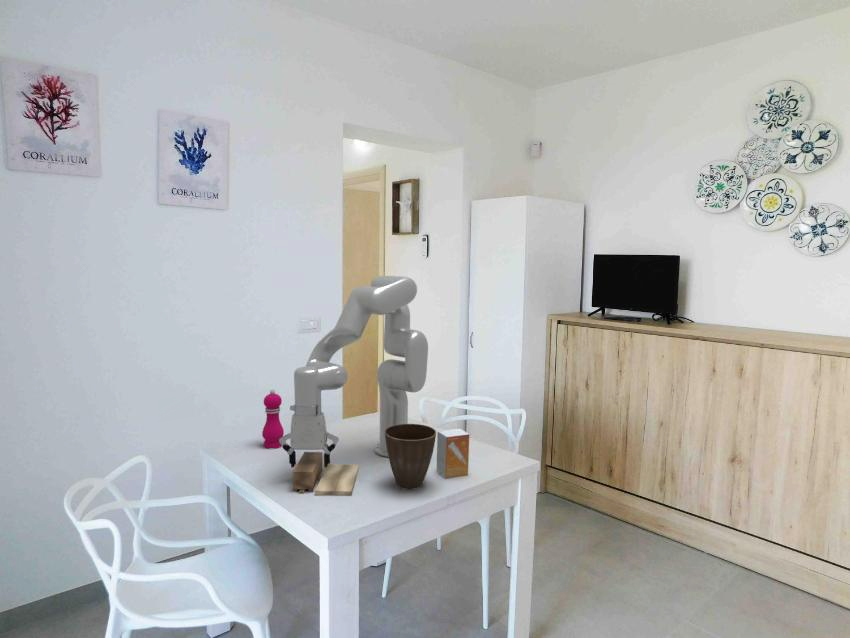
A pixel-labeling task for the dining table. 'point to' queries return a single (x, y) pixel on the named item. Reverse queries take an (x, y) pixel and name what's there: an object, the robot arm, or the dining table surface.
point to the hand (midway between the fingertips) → (309, 465)
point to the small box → (452, 453)
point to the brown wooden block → (307, 471)
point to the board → (337, 480)
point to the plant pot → (410, 453)
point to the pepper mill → (272, 421)
